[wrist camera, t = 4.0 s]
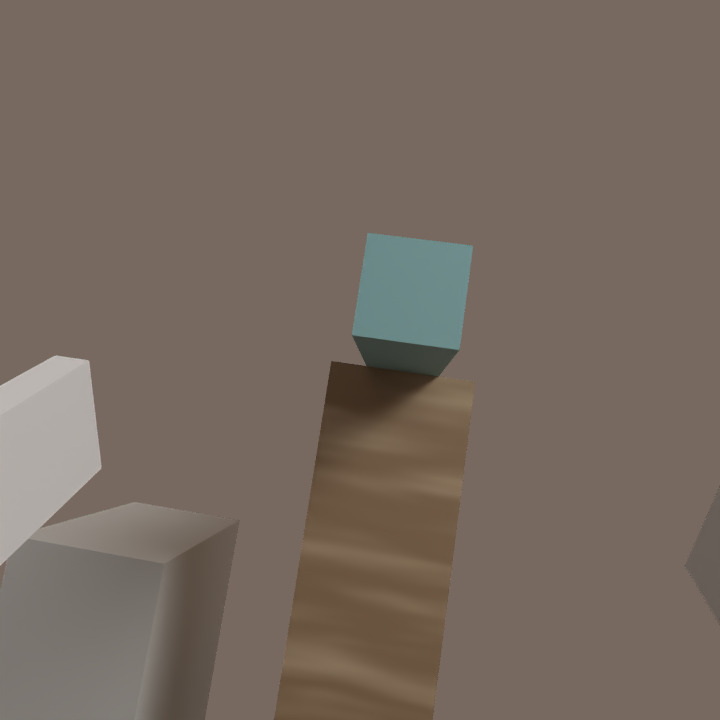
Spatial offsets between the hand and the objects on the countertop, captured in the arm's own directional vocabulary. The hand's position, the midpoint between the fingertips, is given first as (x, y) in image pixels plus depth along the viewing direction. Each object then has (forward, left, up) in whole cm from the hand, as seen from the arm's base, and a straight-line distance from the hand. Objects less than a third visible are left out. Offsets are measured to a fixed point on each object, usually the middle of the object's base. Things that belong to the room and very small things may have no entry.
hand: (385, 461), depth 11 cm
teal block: (-3, +17, +3) cm, 18 cm away
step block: (-20, +22, -35) cm, 46 cm away
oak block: (-4, +21, -35) cm, 40 cm away
